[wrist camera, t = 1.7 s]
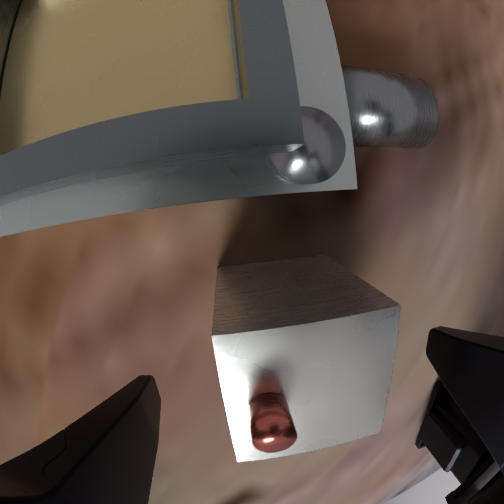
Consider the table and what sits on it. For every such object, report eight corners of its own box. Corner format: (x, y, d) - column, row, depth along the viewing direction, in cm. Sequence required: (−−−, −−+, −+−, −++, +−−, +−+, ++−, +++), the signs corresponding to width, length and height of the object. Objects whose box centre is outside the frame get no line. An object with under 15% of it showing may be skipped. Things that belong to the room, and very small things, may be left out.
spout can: (324, 254, 12) (428, 324, 5) (326, 347, 13) (395, 456, 6) (217, 267, 12) (209, 366, 5) (230, 361, 13) (240, 492, 6)
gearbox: (353, -24, 10) (400, -86, 4) (397, 185, 12) (497, 189, 6) (26, 22, 8) (-31, -21, 2) (15, 231, 11) (-74, 258, 5)
